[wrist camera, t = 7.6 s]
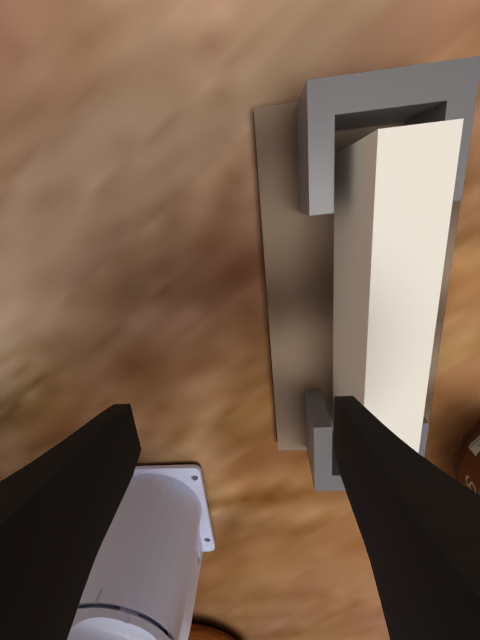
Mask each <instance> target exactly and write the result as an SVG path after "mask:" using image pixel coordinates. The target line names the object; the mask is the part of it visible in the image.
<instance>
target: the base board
mask: <svg viewBox="0 0 480 640" xmlns="http://www.w3.org/2000/svg"><path fill="white" fill-rule="evenodd" d="M297 104H298V102H291V103H283V104H276V105H268V106H261V107H254V122H255V136H256V150H257V164H258V178H259V191H260V205H261V219H262V233H263V247H264V261H265V275H266V289H267V303H268V317H269V330H270V344H271V358H272V372H273V386H274V400H275V414H276V428H277V442H278V451H285V450H307V445H306V411H305V391H311V390H321V393H322V396H323V399H324V402H325V406H326V409H327V412H328V415H329V418H330V421H331V424H332V433H333V429H334V424H333V292H334V213H330V214H321V215H311V216H309V215H306V214H303V213H300V211H299V178H298V144H297V111H296V106H297ZM399 126H405V123H397V124H389V125H381V126H373V127H365V128H357V129H349V130H341V131H335V140H334V164H335V154H337V153H339V152H340V151H342V150H344V149H345V148H347V147H349V146H350V145H352V144H354V143H355V142H357V141H359V140H360V139H362V138H364V137H366V136H367V135H369V134H371V133H372V132H374V131H376V130H377V129H382V128H390V127H399ZM460 203H461V200H459V201H453V202H452V209H451V217H450V224H449V232H448V239H447V246H446V254H445V261H444V269H443V276H442V283H441V291H440V298H439V306H438V313H437V320H436V328H435V335H434V343H433V350H432V357H431V365H430V372H429V380H428V387H427V394H426V402H425V409H424V417H425V418H426V420H427V421H428V422H429V419H430V412H431V405H432V398H433V391H434V384H435V377H436V370H437V363H438V356H439V349H440V342H441V335H442V328H443V321H444V314H445V307H446V300H447V293H448V286H449V279H450V273H451V266H452V259H453V252H454V245H455V238H456V231H457V224H458V217H459V210H460Z"/></svg>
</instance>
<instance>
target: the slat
mask: <svg viewBox="0 0 480 640" xmlns="http://www.w3.org/2000/svg"><path fill="white" fill-rule="evenodd" d="M463 121H464V118H463V119H455V120H447V121H439V122H431V123H423V124H415V125H407V126H399V127H390V128H382V129H377V130H376V131H374V132H372V133H371V134H369V135H367V136H366V137H364V138H362V139H360V140H359V141H357V142H355V143H354V144H352V145H350V146H349V147H347V148H345V149H344V150H342V151H340V152H339V153H337V154H335V164H334V292H333V424H334V396H354V397H355V398H356V399H357V400H358V401H359V402H360V403H361V404H362V405H363V406H364V407H366V408H367V409H368V410H369V411H370V412H371V413H372V414H373V415H374V416H375V417H376V418H377V419H378V420H379V421H381V422H382V423H383V424H384V425H385V426H386V427H387V428H388V429H390V430H391V431H392V432H393V433H394V434H395V435H396V436H398V437H399V438H400V439H401V440H402V441H404V442H405V443H406V444H407V445H409V446H410V447H411V448H412V449H414V450H415V451H416V452H418V453H419V446H420V439H421V431H422V424H423V417H424V409H425V402H426V394H427V387H428V380H429V372H430V365H431V357H432V350H433V343H434V335H435V328H436V320H437V313H438V306H439V298H440V291H441V283H442V276H443V269H444V261H445V254H446V246H447V239H448V232H449V224H450V217H451V209H452V202H453V195H454V187H455V180H456V172H457V165H458V158H459V150H460V143H461V135H462V128H463Z"/></svg>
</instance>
